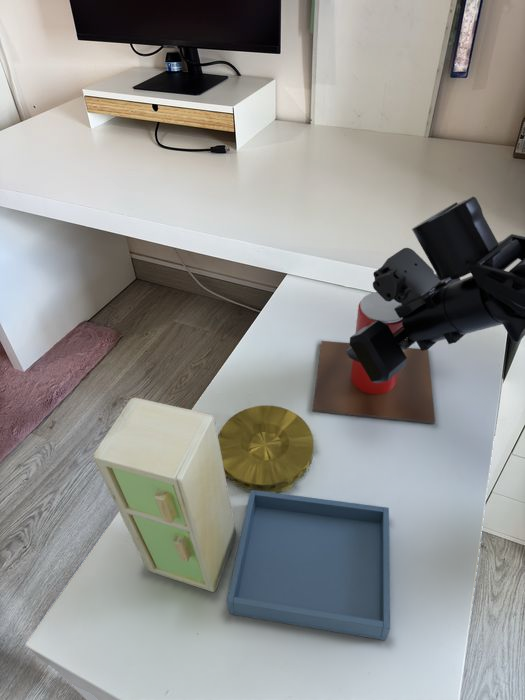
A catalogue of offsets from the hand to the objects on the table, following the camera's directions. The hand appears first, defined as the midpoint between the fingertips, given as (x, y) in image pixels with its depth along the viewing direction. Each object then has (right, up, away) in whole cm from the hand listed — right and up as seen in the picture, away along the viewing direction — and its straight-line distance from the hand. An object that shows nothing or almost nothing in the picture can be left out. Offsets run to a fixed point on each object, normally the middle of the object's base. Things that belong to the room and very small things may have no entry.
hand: (370, 337), depth 68 cm
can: (+1, -6, +4) cm, 7 cm away
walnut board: (+1, -6, +4) cm, 7 cm away
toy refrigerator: (-22, -24, -14) cm, 36 cm away
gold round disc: (-14, -15, -4) cm, 21 cm away
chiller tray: (-9, -24, -15) cm, 30 cm away
